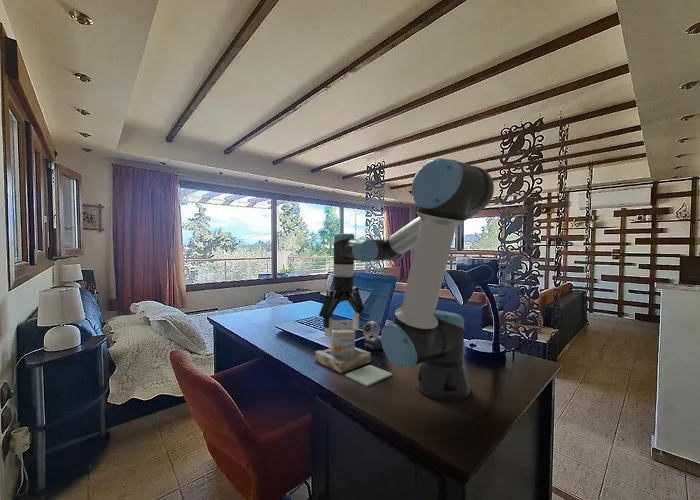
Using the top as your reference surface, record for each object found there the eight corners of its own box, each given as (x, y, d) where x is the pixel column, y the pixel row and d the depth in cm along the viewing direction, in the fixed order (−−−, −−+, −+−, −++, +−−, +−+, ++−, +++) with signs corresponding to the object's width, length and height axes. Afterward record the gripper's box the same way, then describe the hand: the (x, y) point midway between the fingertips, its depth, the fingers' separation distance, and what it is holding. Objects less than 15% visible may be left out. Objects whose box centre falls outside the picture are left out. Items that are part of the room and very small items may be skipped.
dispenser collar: (370, 361, 111) (370, 352, 111) (341, 372, 101) (341, 362, 101) (344, 351, 122) (344, 343, 122) (315, 360, 112) (315, 351, 112)
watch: (360, 348, 126) (360, 322, 126) (372, 344, 131) (373, 318, 131) (370, 351, 122) (370, 324, 122) (383, 347, 127) (383, 321, 127)
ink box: (331, 364, 108) (332, 323, 108) (330, 359, 113) (331, 320, 113) (355, 363, 110) (355, 323, 109) (353, 358, 114) (353, 319, 114)
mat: (392, 375, 100) (392, 373, 100) (367, 386, 91) (367, 384, 91) (370, 366, 107) (370, 364, 107) (344, 376, 99) (344, 374, 99)
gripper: (360, 272, 122) (359, 324, 123) (309, 276, 105) (308, 337, 106) (373, 274, 117) (372, 328, 117) (323, 278, 100) (322, 342, 100)
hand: (342, 332), depth 112 cm, fingers open, 13 cm apart
